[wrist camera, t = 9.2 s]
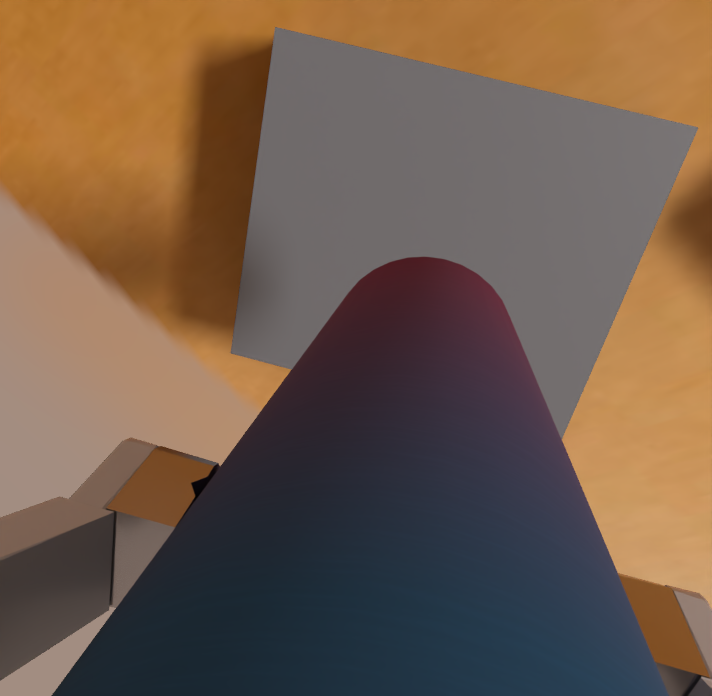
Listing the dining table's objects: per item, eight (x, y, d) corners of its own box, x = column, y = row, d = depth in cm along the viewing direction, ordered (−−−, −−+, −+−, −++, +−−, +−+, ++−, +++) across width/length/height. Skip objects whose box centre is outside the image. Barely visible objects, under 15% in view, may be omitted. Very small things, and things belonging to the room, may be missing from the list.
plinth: (261, 315, 33) (230, 353, 29) (305, 35, 27) (275, 27, 23) (546, 389, 32) (561, 440, 28) (656, 119, 26) (698, 127, 22)
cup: (385, 477, 19) (212, 1467, 5) (258, 303, 17) (-474, 1130, 4) (591, 383, 17) (1178, 1695, 3) (468, 170, 15) (599, 1087, 1)
